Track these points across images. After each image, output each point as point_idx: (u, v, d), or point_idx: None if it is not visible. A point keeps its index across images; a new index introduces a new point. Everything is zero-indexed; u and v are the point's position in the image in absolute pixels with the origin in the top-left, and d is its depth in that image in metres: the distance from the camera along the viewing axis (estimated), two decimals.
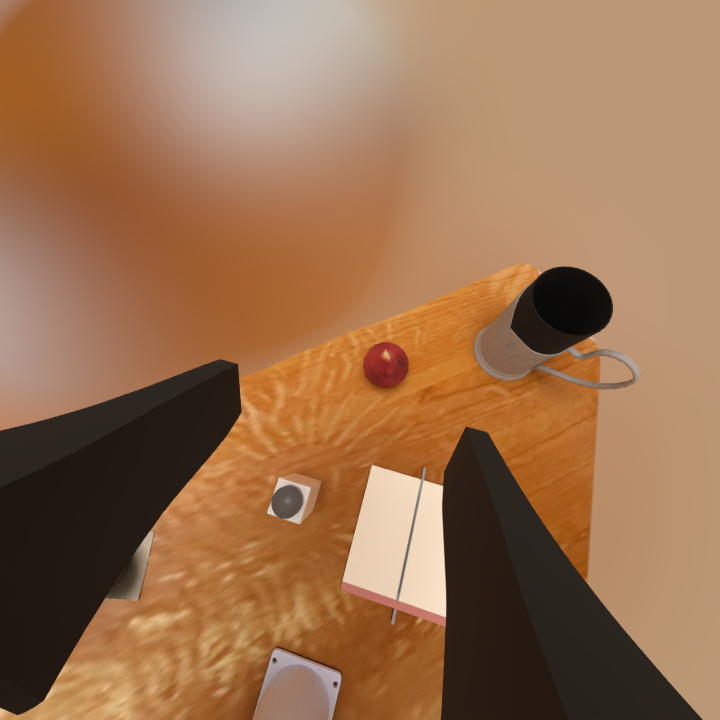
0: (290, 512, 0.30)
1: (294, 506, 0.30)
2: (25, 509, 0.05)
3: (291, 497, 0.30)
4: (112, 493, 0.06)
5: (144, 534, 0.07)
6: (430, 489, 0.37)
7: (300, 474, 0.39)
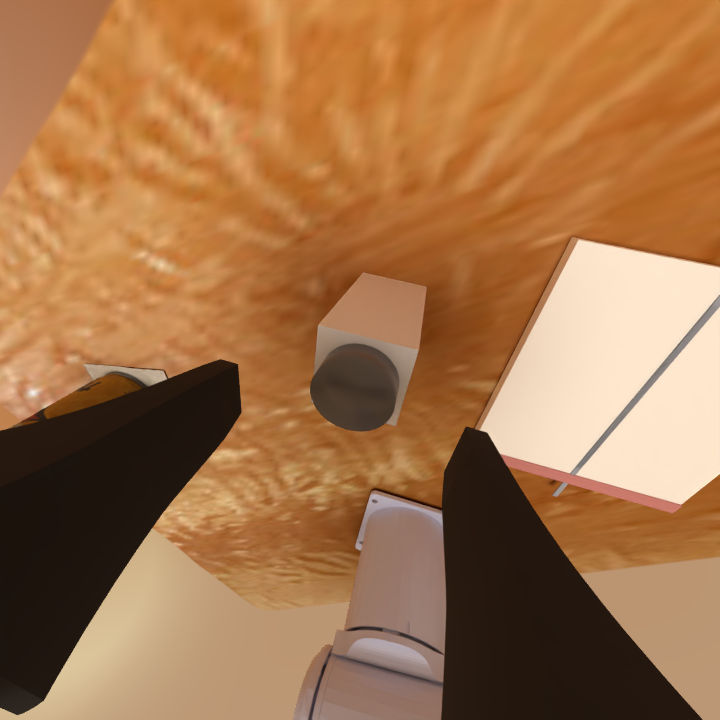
0: (368, 420, 0.11)
1: (377, 408, 0.10)
2: (26, 509, 0.05)
3: (365, 388, 0.10)
4: (112, 493, 0.06)
5: (144, 534, 0.07)
6: None
7: (374, 275, 0.17)
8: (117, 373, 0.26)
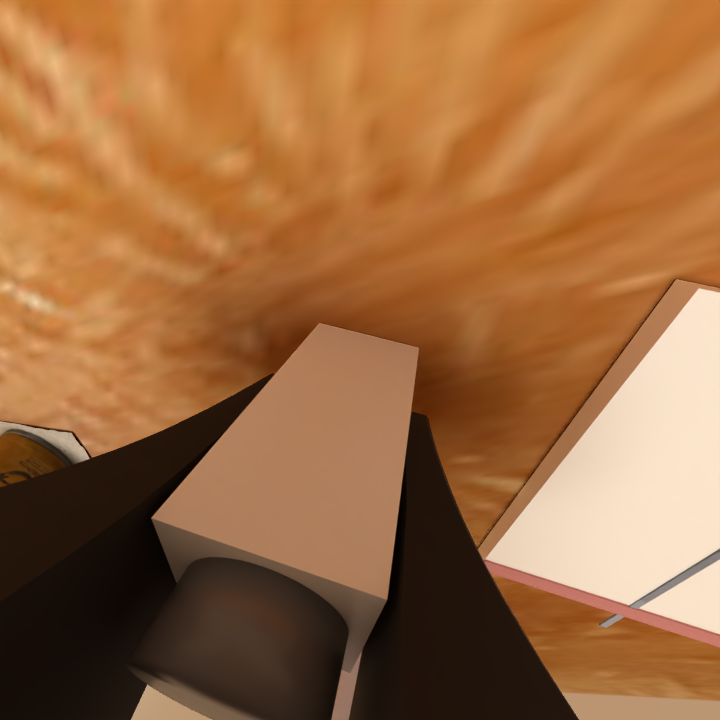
0: None
1: None
2: (125, 546, 0.04)
3: (247, 709, 0.04)
4: None
5: None
6: None
7: (337, 327, 0.11)
8: (17, 432, 0.19)
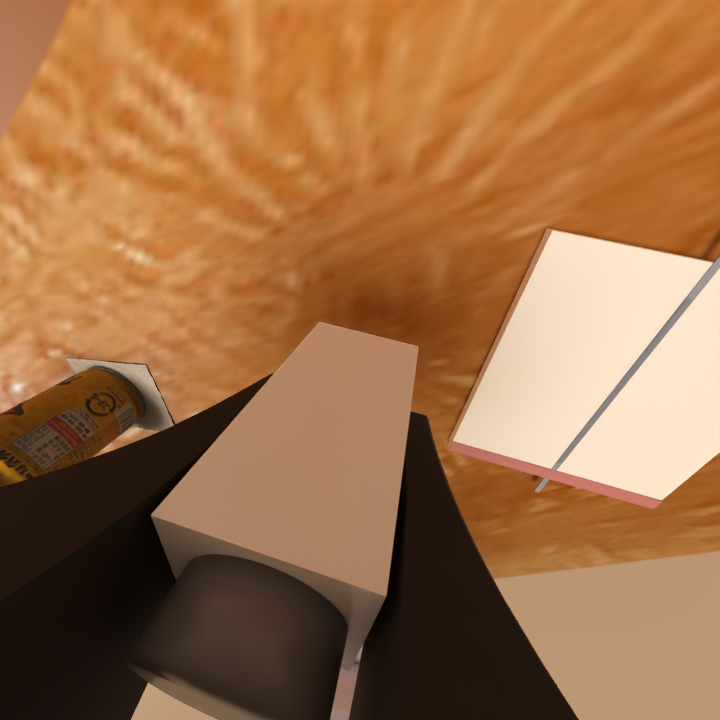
0: None
1: None
2: (126, 545, 0.04)
3: (246, 706, 0.04)
4: None
5: None
6: None
7: (336, 326, 0.11)
8: (100, 367, 0.25)
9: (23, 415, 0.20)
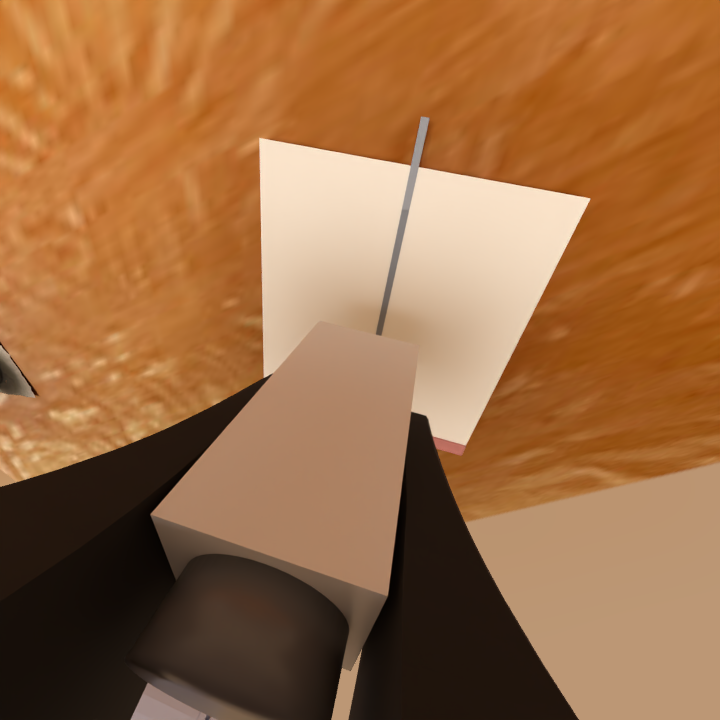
0: None
1: None
2: (125, 546, 0.04)
3: (246, 707, 0.04)
4: None
5: None
6: (439, 195, 0.12)
7: (337, 325, 0.11)
8: None
9: None
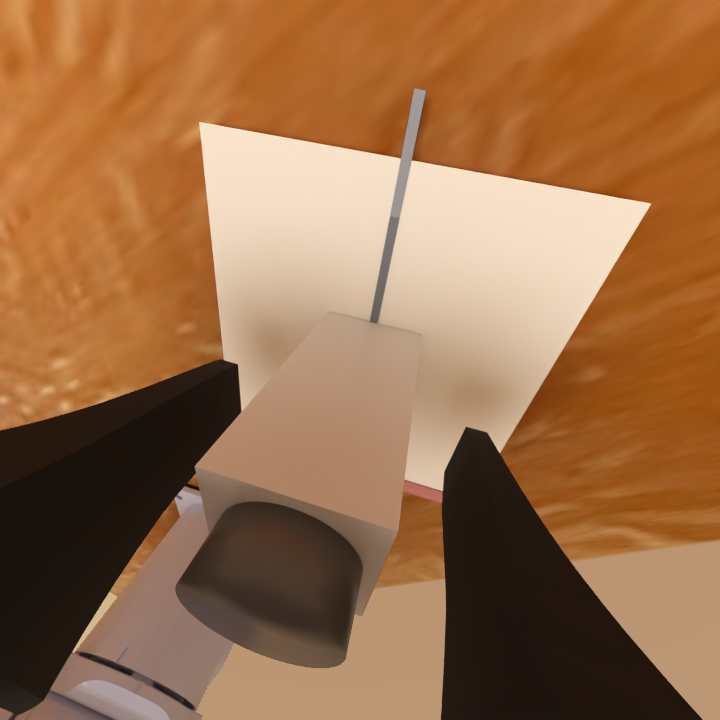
0: (298, 656, 0.05)
1: (312, 649, 0.05)
2: (25, 509, 0.05)
3: (280, 621, 0.05)
4: (112, 493, 0.06)
5: (144, 534, 0.07)
6: (440, 199, 0.09)
7: (345, 316, 0.11)
8: None
9: None
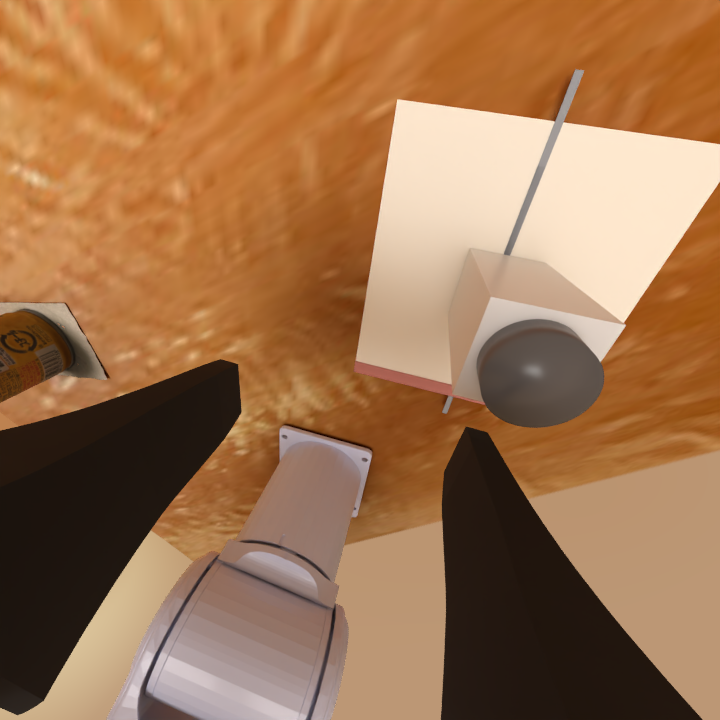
0: (553, 413, 0.09)
1: (572, 398, 0.08)
2: (25, 509, 0.05)
3: (563, 373, 0.08)
4: (112, 493, 0.06)
5: (144, 534, 0.07)
6: (580, 151, 0.12)
7: None
8: (24, 310, 0.25)
9: None
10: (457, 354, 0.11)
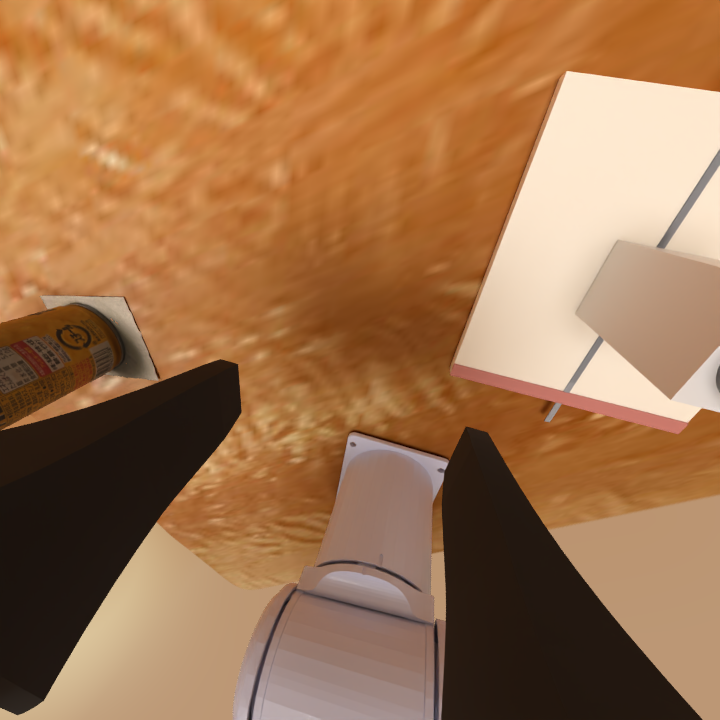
0: None
1: None
2: (25, 509, 0.05)
3: None
4: (112, 493, 0.06)
5: (144, 534, 0.07)
6: None
7: None
8: (75, 303, 0.24)
9: None
10: (657, 354, 0.10)
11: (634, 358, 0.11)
